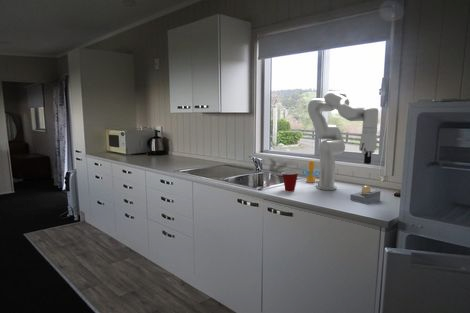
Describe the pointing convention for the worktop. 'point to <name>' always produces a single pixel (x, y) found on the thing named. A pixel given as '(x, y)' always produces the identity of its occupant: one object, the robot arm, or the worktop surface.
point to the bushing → (365, 189)
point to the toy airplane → (311, 172)
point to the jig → (366, 197)
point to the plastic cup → (290, 180)
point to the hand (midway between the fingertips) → (367, 163)
